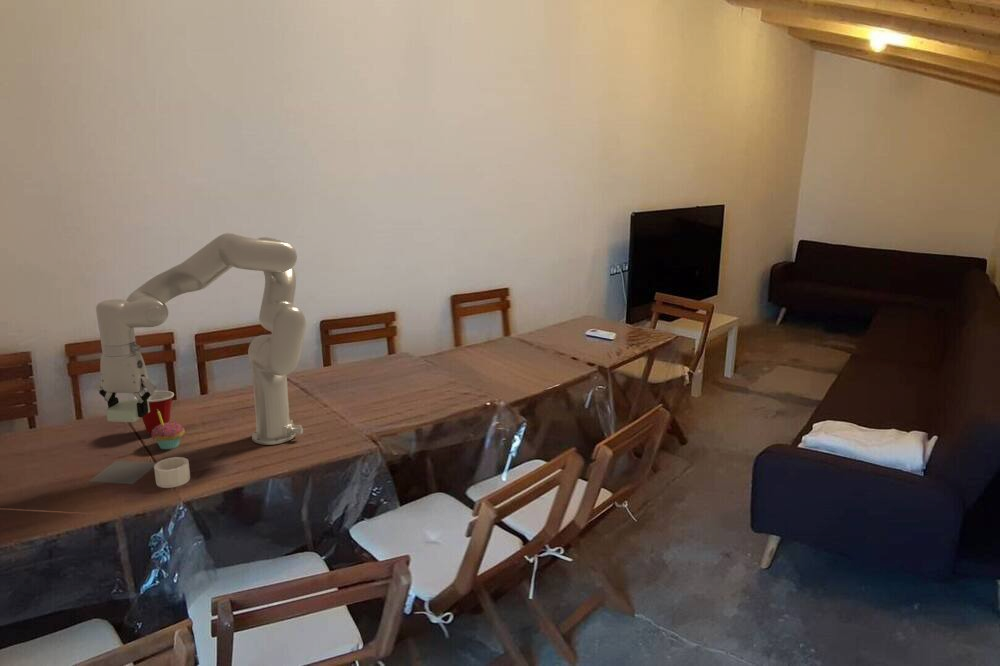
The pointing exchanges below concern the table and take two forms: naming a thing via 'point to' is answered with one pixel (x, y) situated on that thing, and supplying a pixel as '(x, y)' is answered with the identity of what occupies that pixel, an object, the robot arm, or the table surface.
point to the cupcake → (167, 434)
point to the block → (124, 411)
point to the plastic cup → (163, 404)
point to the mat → (123, 472)
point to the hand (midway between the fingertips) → (129, 414)
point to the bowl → (172, 472)
